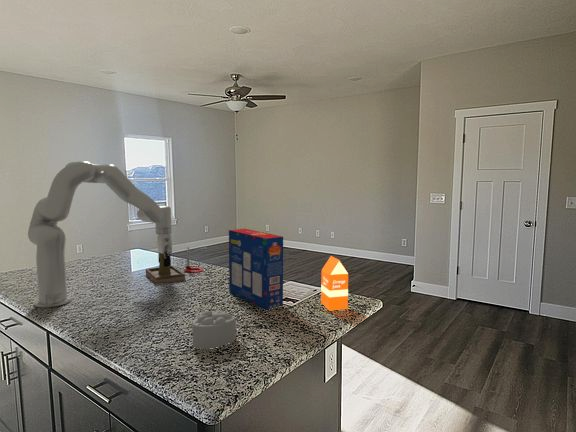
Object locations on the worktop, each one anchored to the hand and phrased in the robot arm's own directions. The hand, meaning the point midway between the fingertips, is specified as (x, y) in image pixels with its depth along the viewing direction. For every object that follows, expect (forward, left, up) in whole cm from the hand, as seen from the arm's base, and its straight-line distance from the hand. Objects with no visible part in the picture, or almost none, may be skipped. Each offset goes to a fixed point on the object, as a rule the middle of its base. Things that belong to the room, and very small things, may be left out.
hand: (164, 264), depth 185 cm
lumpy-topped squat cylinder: (-82, +8, -7) cm, 83 cm away
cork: (0, 0, -5) cm, 5 cm away
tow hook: (+5, -17, -7) cm, 19 cm away
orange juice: (-80, -43, -7) cm, 91 cm away
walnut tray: (0, 0, -7) cm, 7 cm away
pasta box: (-54, -22, -7) cm, 59 cm away
